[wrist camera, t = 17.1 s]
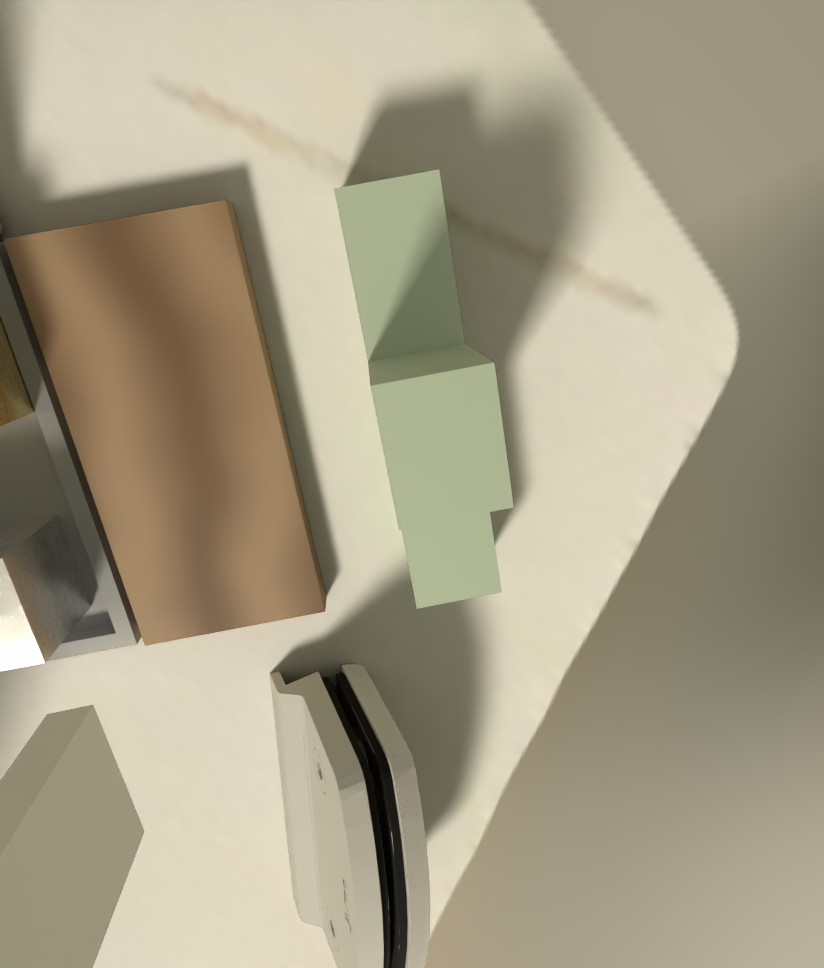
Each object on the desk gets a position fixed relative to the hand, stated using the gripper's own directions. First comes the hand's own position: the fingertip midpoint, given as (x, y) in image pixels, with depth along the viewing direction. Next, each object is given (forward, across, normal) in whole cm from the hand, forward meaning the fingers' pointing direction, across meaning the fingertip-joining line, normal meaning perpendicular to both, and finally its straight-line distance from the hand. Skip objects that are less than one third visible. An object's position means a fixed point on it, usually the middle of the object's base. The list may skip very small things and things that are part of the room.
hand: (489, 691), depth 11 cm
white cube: (+21, +20, +3) cm, 29 cm away
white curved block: (+21, +7, +20) cm, 30 cm away
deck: (+21, +10, -2) cm, 23 cm away
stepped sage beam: (+21, -1, -1) cm, 21 cm away
